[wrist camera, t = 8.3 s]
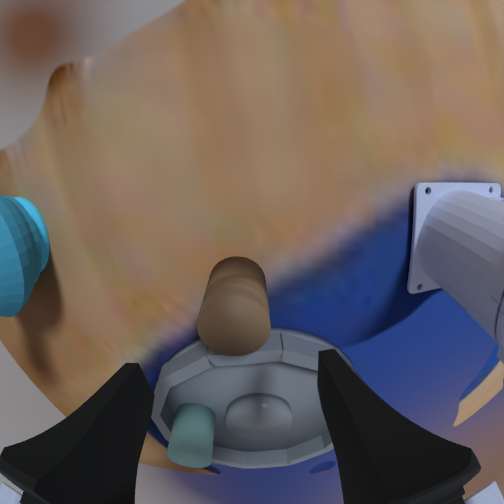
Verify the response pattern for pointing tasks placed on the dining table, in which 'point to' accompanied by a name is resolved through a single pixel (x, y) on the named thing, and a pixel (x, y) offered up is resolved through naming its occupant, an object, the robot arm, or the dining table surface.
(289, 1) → the dining table surface
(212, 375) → the tray
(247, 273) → the bead walnut
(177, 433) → the bead teal
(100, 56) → the dining table surface
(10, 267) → the perfume bottle
